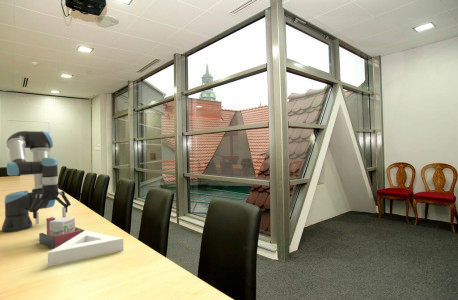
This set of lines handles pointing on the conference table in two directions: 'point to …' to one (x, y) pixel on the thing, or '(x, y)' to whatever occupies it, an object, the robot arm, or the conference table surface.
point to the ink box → (62, 226)
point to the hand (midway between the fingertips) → (51, 221)
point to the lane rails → (50, 239)
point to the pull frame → (63, 237)
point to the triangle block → (84, 247)
